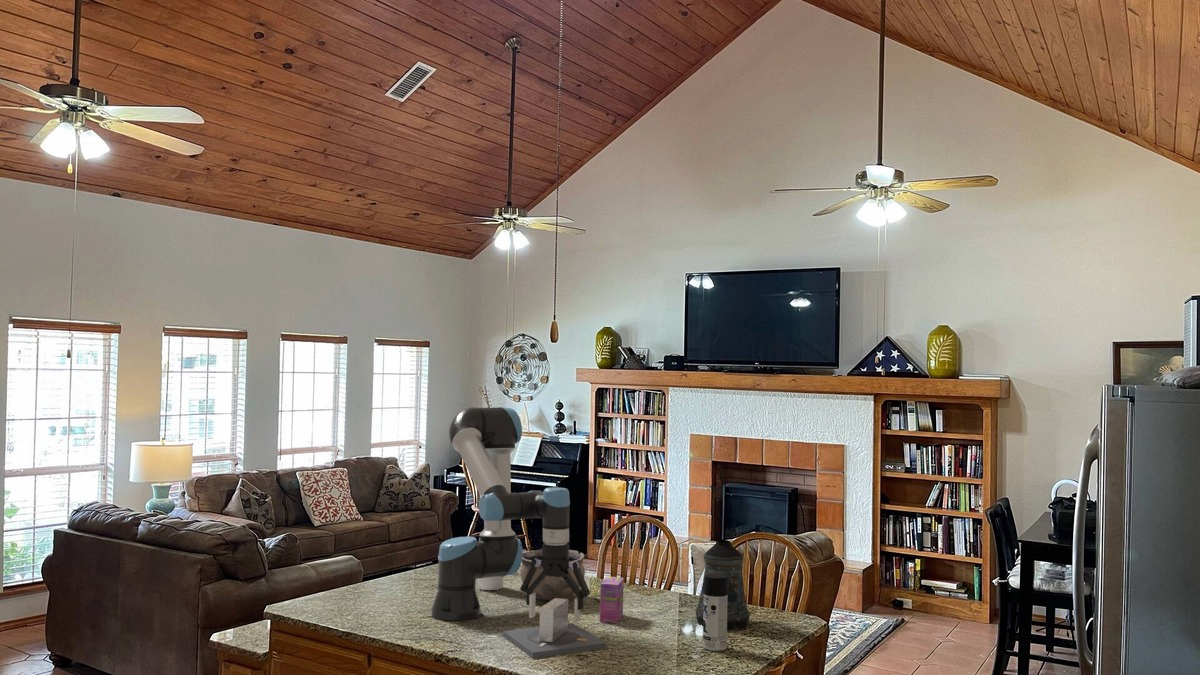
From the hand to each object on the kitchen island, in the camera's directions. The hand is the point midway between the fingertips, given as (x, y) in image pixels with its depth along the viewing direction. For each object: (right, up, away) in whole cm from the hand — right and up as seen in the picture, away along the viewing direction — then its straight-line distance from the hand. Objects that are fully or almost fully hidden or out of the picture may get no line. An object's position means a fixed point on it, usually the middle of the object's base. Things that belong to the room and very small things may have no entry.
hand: (554, 619), depth 250 cm
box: (+16, -8, +26) cm, 32 cm away
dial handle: (0, -5, 0) cm, 5 cm away
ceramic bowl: (-3, -9, +50) cm, 51 cm away
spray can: (+45, -7, -3) cm, 46 cm away
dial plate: (0, -6, 0) cm, 6 cm away
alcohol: (-26, -9, +63) cm, 69 cm away
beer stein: (+50, -9, +24) cm, 56 cm away
